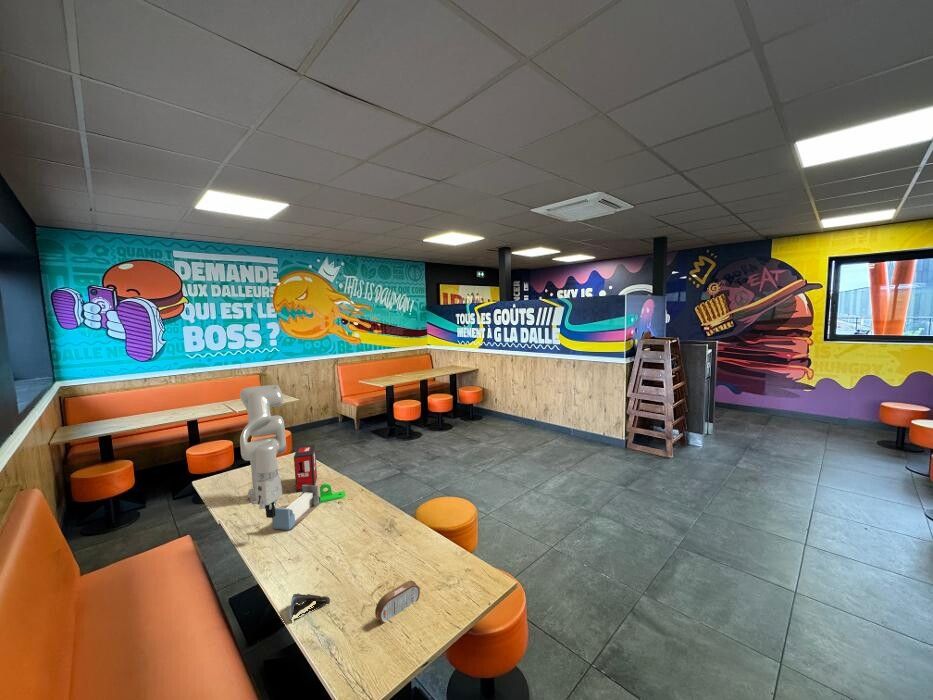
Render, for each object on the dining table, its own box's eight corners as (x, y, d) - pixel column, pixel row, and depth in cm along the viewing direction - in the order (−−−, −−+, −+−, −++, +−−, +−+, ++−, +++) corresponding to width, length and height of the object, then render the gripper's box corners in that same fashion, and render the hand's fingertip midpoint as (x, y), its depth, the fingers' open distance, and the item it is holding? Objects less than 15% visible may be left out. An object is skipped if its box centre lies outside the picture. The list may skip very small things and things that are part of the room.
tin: (416, 598, 122) (415, 574, 122) (421, 603, 120) (421, 579, 119) (375, 624, 112) (373, 599, 111) (380, 631, 110) (379, 605, 109)
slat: (285, 521, 168) (284, 509, 167) (306, 503, 183) (305, 492, 183) (293, 522, 167) (292, 509, 167) (313, 504, 183) (312, 492, 182)
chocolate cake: (326, 591, 125) (295, 577, 121) (332, 598, 120) (300, 584, 116) (309, 623, 121) (276, 610, 117) (314, 632, 115) (280, 618, 111)
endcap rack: (272, 529, 163) (271, 508, 162) (304, 503, 186) (302, 484, 185) (291, 531, 162) (289, 509, 161) (320, 504, 184) (319, 485, 183)
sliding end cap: (272, 528, 163) (271, 508, 162) (278, 523, 167) (277, 503, 166) (289, 529, 161) (288, 509, 160) (295, 524, 165) (293, 505, 164)
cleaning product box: (314, 490, 199) (312, 454, 197) (296, 493, 197) (293, 456, 195) (317, 477, 215) (314, 444, 213) (300, 480, 212) (297, 446, 210)
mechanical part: (320, 504, 185) (319, 489, 184) (320, 499, 190) (319, 484, 190) (345, 499, 189) (344, 484, 188) (345, 494, 195) (344, 479, 194)
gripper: (262, 482, 146) (266, 527, 147) (287, 467, 160) (290, 508, 162) (245, 481, 147) (249, 526, 149) (271, 466, 162) (275, 507, 163)
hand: (271, 516), depth 155 cm, fingers closed
